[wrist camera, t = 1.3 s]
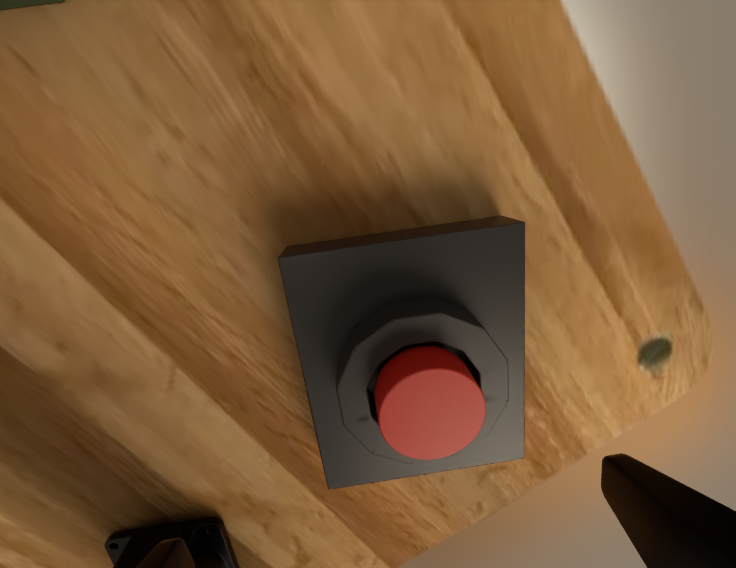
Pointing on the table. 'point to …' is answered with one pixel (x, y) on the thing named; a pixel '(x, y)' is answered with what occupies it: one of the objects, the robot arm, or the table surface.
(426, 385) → the light button
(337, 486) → the lamp switch
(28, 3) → the dimmer panel
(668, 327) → the table surface
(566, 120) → the table surface
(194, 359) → the table surface
